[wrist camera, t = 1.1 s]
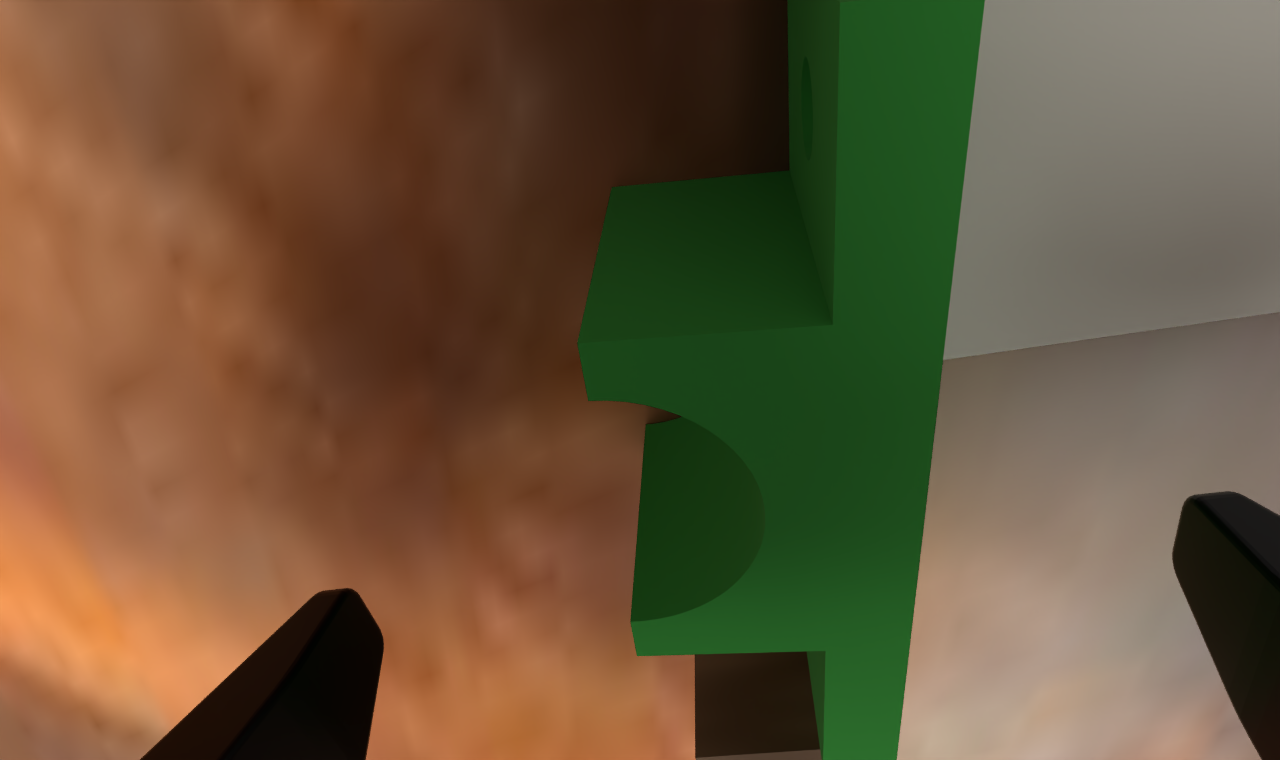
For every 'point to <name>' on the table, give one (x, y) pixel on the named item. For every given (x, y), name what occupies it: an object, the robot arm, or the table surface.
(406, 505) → the table surface
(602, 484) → the table surface
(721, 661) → the pair of blocks
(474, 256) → the table surface
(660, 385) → the pipe clamp
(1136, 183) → the mat
